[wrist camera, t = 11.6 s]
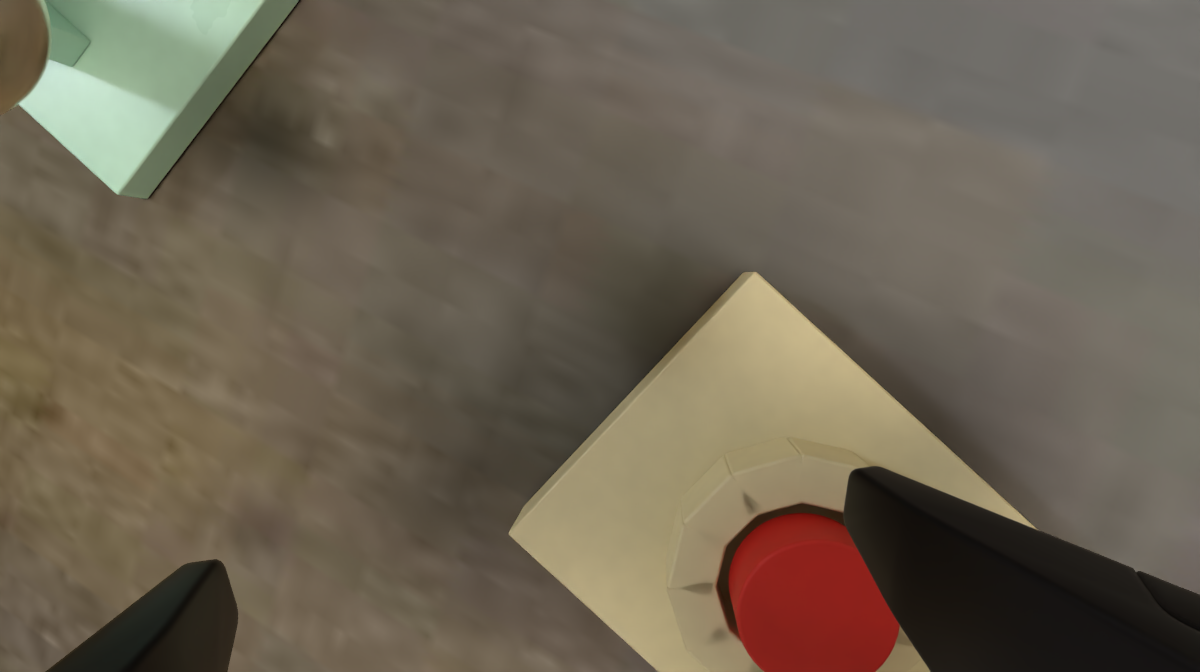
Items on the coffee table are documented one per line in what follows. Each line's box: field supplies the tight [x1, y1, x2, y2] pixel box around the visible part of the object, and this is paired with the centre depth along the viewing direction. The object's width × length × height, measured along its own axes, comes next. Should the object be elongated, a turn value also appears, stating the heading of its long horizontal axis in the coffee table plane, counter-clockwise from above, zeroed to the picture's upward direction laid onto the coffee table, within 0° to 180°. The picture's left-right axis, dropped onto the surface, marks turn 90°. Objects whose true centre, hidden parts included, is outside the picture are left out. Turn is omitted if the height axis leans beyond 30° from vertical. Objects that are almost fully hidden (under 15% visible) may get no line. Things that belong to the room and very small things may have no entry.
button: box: [729, 513, 900, 672], centre depth 15 cm, size 4×4×2 cm
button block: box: [509, 272, 1036, 672], centre depth 18 cm, size 12×10×4 cm
